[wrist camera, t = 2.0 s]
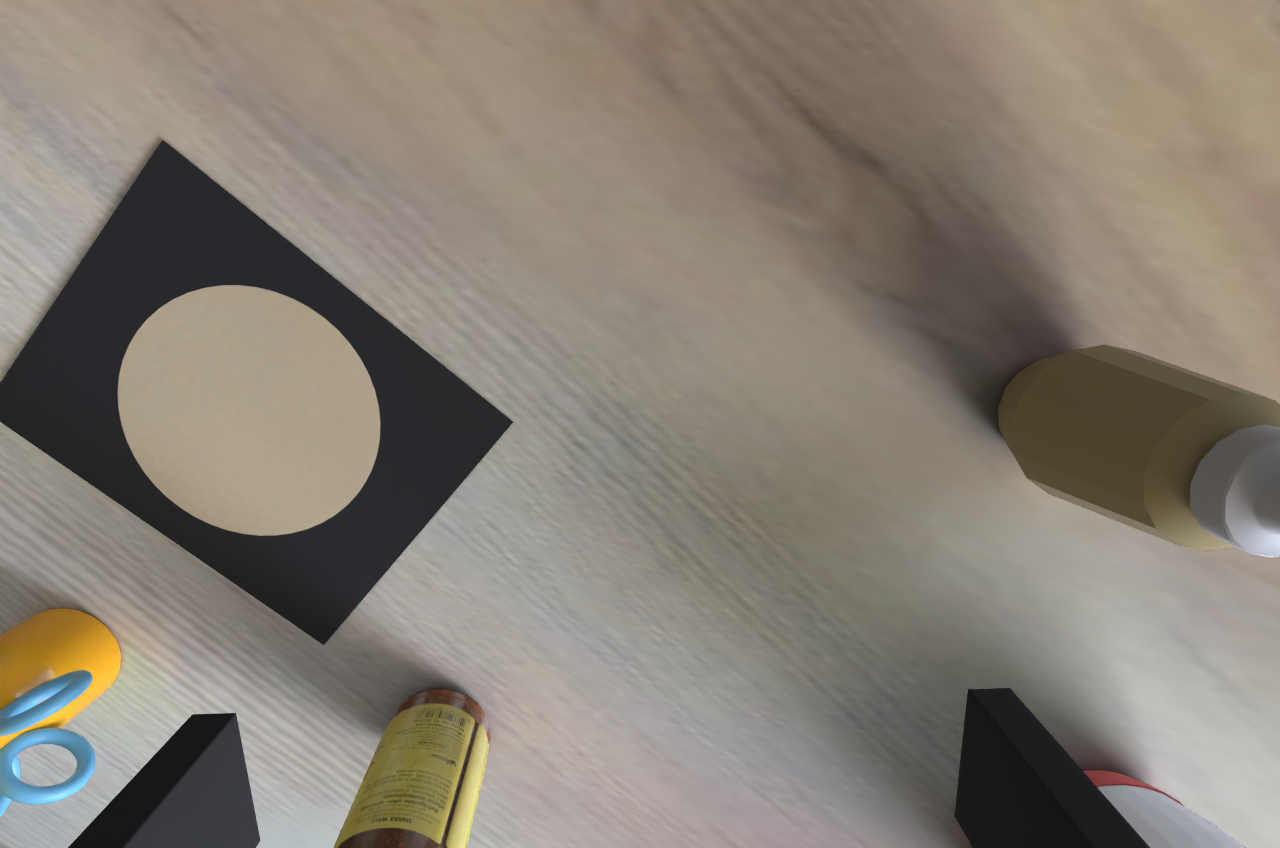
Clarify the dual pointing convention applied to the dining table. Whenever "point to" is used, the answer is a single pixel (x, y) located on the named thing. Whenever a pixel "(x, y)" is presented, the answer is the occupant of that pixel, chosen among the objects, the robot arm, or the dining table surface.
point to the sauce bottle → (422, 776)
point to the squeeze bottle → (1150, 446)
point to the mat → (244, 400)
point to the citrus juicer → (1159, 814)
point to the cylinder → (50, 694)
